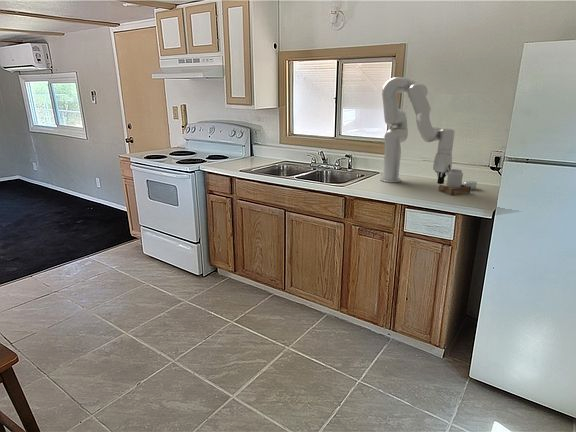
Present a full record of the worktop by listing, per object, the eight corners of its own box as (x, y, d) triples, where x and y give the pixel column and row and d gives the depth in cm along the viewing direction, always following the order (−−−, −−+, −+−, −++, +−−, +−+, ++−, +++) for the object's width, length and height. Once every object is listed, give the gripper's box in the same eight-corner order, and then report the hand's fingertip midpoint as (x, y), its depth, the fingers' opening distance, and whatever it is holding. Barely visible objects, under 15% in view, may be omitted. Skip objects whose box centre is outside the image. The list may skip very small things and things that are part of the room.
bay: (438, 190, 217) (439, 184, 216) (456, 188, 221) (457, 182, 220) (451, 195, 208) (452, 189, 207) (469, 193, 212) (470, 186, 211)
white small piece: (459, 188, 222) (460, 181, 221) (466, 187, 226) (467, 180, 225) (471, 190, 216) (472, 183, 215) (478, 189, 221) (479, 182, 219)
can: (448, 189, 220) (451, 168, 217) (462, 191, 216) (465, 170, 212) (443, 191, 215) (446, 170, 211) (457, 194, 210) (460, 172, 207)
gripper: (430, 149, 223) (426, 181, 229) (448, 154, 210) (444, 187, 216) (440, 149, 226) (437, 180, 231) (459, 153, 212) (455, 186, 218)
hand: (440, 183), depth 223 cm, fingers closed
